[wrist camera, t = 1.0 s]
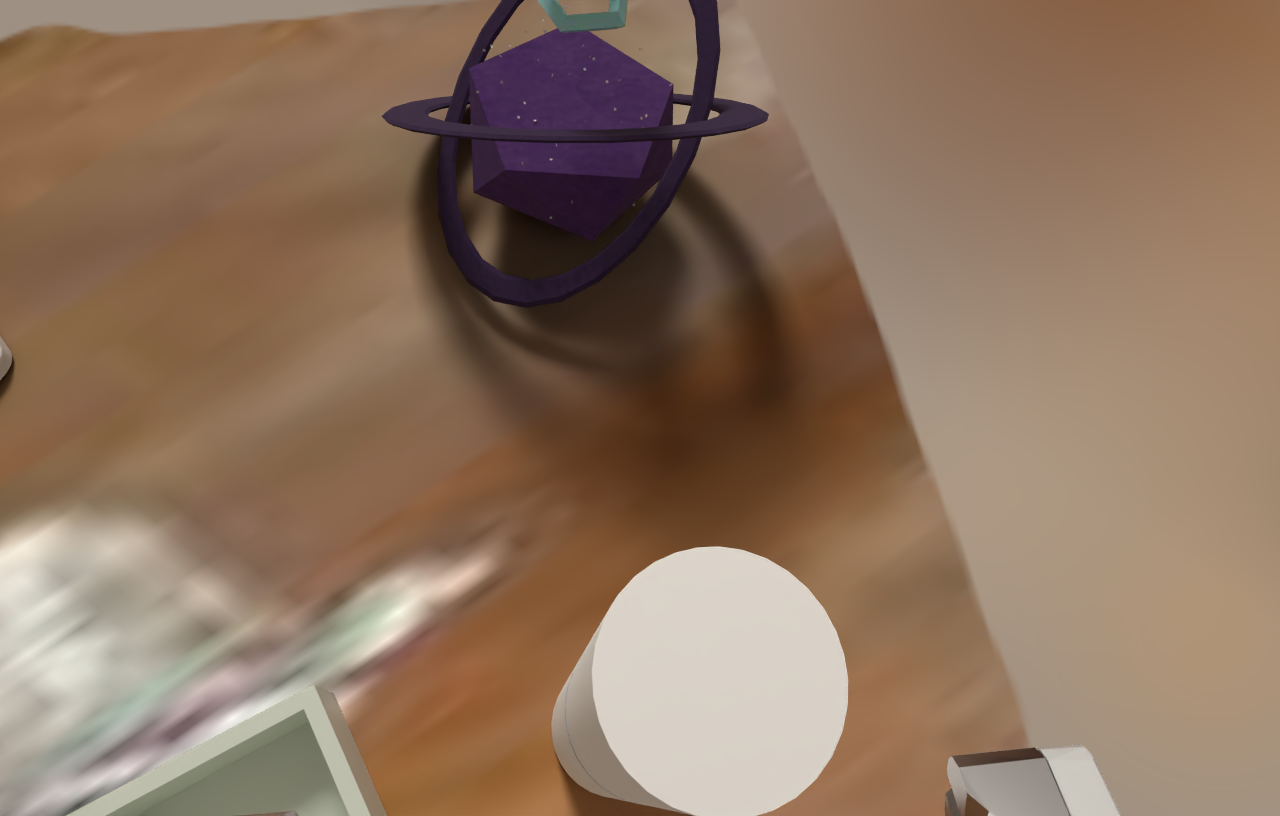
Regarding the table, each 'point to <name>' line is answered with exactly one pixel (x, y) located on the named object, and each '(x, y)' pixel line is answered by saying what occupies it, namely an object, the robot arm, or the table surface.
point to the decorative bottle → (570, 138)
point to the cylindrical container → (705, 689)
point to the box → (259, 769)
